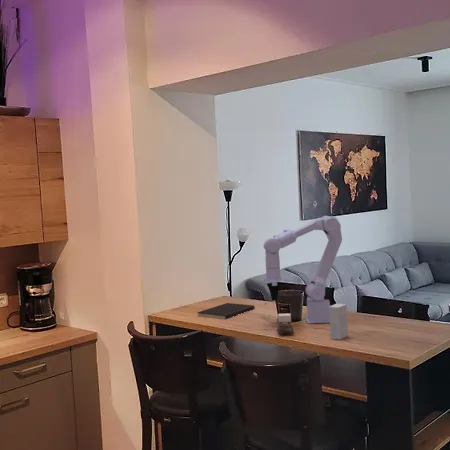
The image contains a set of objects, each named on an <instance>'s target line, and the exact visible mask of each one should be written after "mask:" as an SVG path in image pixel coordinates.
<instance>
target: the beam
mask: <svg viewBox="0 0 450 450" xmlns="http://www.w3.org/2000/svg"><path fill="white" fill-rule="evenodd" d="M276 321H277V322H276V323H277V326H276V332H277V334H279V335H280V334H283V335H284V334H294V326H293V322H292V321H291V322H288V324H282V322H279V320H278V317H276Z"/></svg>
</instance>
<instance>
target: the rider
mask: <svg viewBox="0 0 450 450" xmlns="http://www.w3.org/2000/svg"><path fill="white" fill-rule="evenodd" d="M277 314H278V317H277V318H278V320H279V322H282V324H288V322H292V316H291V312H290V313H277Z"/></svg>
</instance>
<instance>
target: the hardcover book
mask: <svg viewBox="0 0 450 450" xmlns="http://www.w3.org/2000/svg"><path fill="white" fill-rule="evenodd" d="M255 307H256V306H255V305H253V304H243V303H241V304H240V303H230V302H226V303H223V304H219V305H217V306H214V307H211V308H207V309H203V310H200V311H198V312H196V313H197V314H198V315H197V317H203V318H210V319H211V318H212V319H219V320H228V319H230V318H234V317H236V315H237V316H239V315H238V314H240V315H242V314H245V313H248V312H251V311H253V309H254V310H255V309H256V308H255ZM250 310H251V311H250ZM247 311H248V312H247ZM244 312H245V313H244ZM241 313H242V314H241ZM233 316H234V317H233Z"/></svg>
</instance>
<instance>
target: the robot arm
mask: <svg viewBox="0 0 450 450" xmlns="http://www.w3.org/2000/svg"><path fill="white" fill-rule="evenodd" d="M341 227H342V225H341V223H340V221H339V219H337V217H335V216H329V215H322V216H321V217H317V218H314V219H313V220H310V221H309V222H307V223H306V224H303V225H302V226H300V227H298V228H296V229H294V230H292V229H283V232H281V233H279V234H274V235H273V236H272V237H271V238H267V239H266V240H265V241H264V243H263V249H264V250H265V257H264V258H265V273H266V275H265V277H266V278H265V277H264V278H263V281H265V282H267V283H266V285H267V287H268V290H269V293H270V298H271V302H272V301H273V302H276V301H278V297H279V291H280V288H281V282H280V281H281V280H282V278H281V268H280V267H281V265H280V261H281V259H280V253H279V251H280V249H283V248H286V247H288V246H290V245H292V244H294V243H296V241H297V239H298V238H299V237H302V236H304V235H306V234H308V233H311V232H313V231H323V232H324V234H325V235H326V237H327V239H328V241H327V243H326V245H325V248H324V251H323V254H322V256H321V258H320V261H319V264H318V266H317V268H316V271H315V273H314V275H313V276H312V278H311V279H310V281H309V283H307V285H306V286H305V294H306V295H307V298H306V311H307V312H306V313H307V317H306V318H305V320H306V322H307V324H323V323H326V324H327V323H329V324H330V318H329V306H331V302H330V299H325V296H326V287H327V279H328V277H329V274H330V272H331V269H332V267H333V264H334V263H335V262H334V261H335V259H336V257H337V254H338V252H339V249H340V247H341V245H342V242H343V237H342V235H343V234H342V228H341Z"/></svg>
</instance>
